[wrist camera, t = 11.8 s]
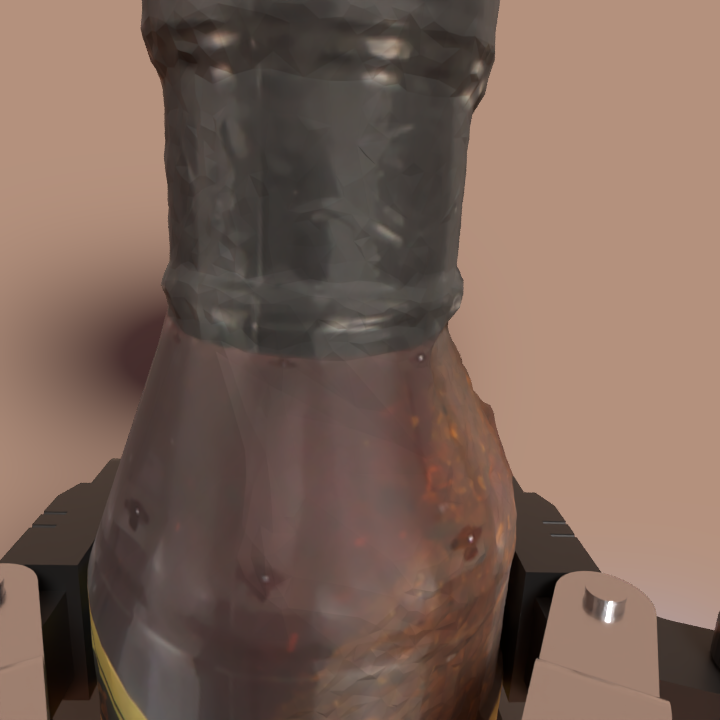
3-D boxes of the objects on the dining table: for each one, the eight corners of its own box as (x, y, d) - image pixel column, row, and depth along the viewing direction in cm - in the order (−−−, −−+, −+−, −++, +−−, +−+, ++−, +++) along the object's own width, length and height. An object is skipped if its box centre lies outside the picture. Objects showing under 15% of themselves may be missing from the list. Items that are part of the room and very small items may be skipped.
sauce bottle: (197, 860, 16) (169, 15, 11) (437, 884, 16) (529, 27, 10) (65, 1294, 10) (-158, -239, 4) (463, 1350, 9) (726, -228, 4)
